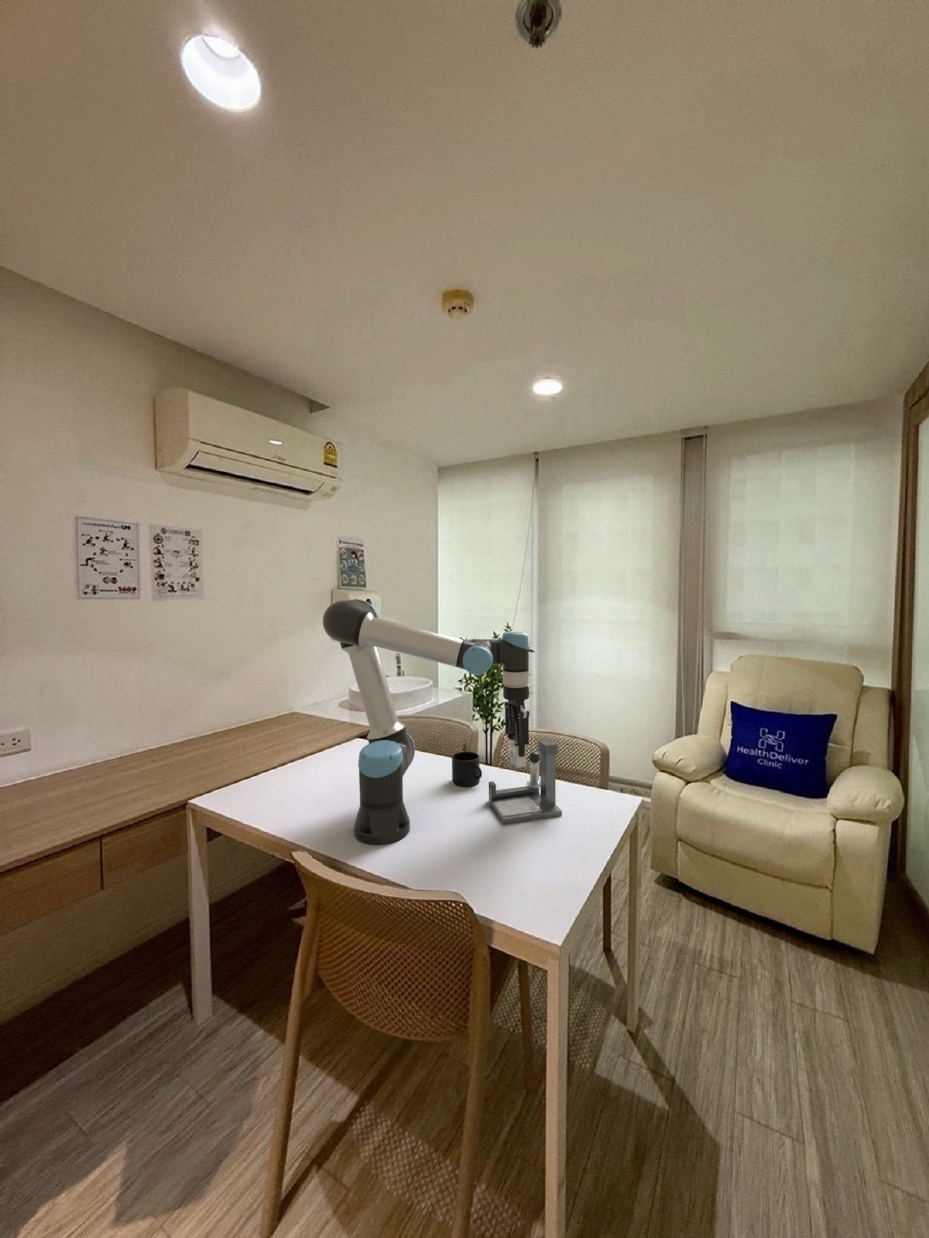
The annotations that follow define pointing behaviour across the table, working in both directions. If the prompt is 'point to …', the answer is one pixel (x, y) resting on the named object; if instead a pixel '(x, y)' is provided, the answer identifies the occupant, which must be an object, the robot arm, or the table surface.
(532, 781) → the lever
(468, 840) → the table surface
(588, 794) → the table surface
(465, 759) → the mug
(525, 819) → the press
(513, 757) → the housing
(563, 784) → the table surface
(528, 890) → the table surface
